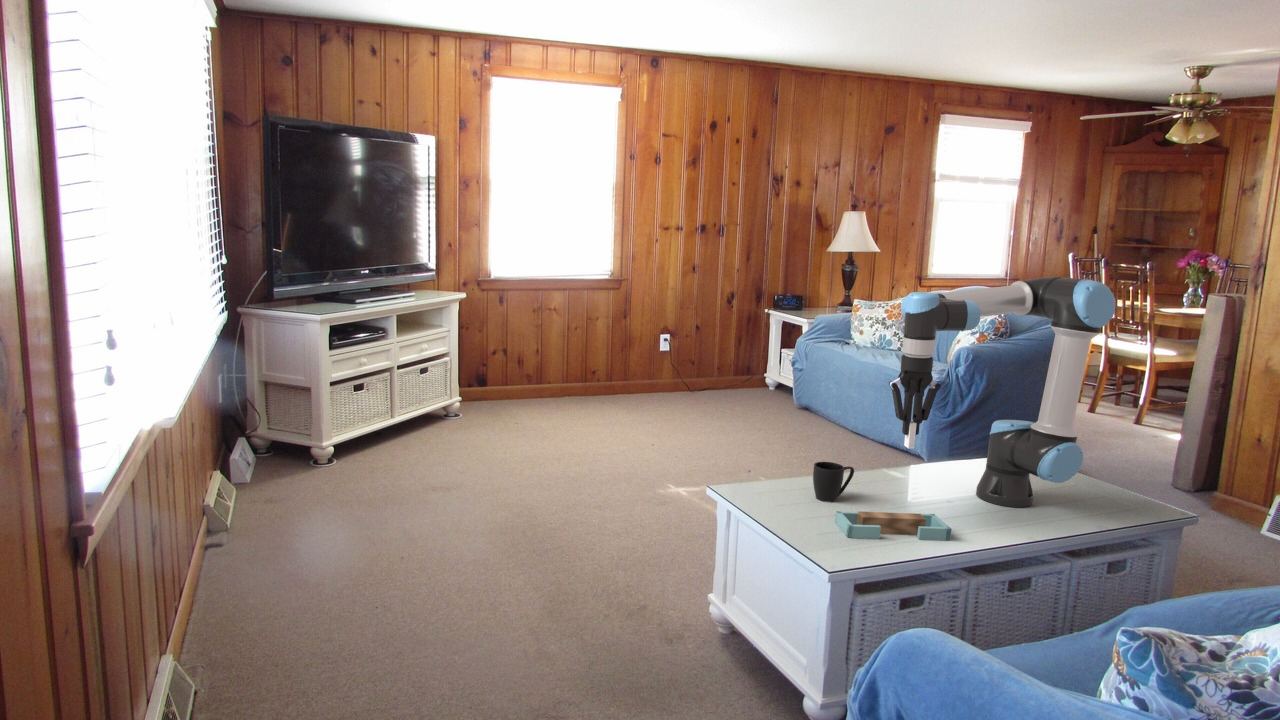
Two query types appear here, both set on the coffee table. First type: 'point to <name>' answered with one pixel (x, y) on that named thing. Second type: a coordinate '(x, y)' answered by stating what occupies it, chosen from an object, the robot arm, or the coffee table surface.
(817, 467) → the mug
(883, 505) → the coffee table surface
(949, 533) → the teal staple arch
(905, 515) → the slat
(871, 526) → the cap
